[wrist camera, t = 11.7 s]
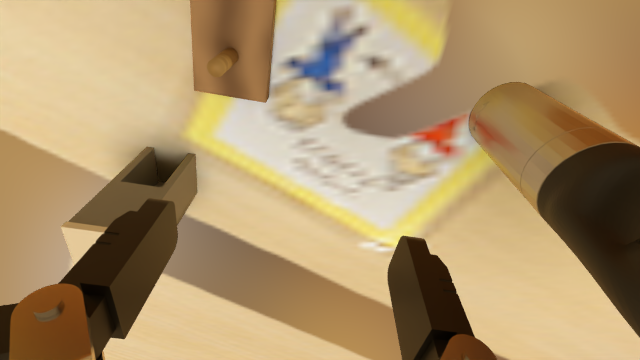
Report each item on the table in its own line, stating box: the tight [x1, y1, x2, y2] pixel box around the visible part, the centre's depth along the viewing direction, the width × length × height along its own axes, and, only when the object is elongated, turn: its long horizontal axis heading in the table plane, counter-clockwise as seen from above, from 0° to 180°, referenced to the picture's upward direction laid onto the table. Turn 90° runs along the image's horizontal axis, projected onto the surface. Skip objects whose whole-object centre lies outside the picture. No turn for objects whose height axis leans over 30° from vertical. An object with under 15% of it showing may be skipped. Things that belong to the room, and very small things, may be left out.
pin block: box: [190, 0, 276, 103], centre depth 34 cm, size 9×20×8 cm, turn 171°
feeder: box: [61, 147, 197, 265], centre depth 42 cm, size 7×7×18 cm
